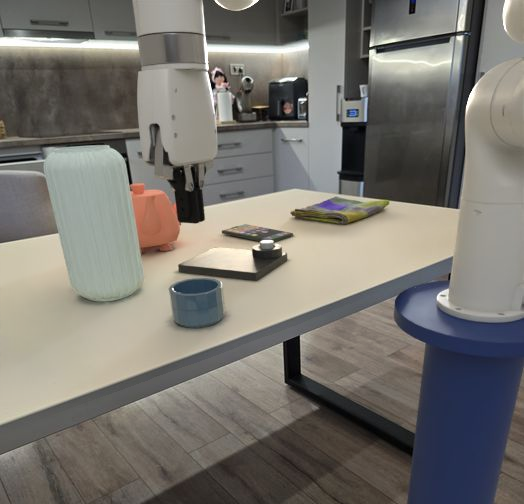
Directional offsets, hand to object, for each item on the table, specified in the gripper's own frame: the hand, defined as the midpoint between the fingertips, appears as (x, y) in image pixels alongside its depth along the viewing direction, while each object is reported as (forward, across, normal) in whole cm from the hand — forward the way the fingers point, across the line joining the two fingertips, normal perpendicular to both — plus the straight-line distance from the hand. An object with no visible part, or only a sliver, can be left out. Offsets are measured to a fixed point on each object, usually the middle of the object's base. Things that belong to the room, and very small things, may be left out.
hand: (191, 221), depth 62 cm
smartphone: (+13, -46, -16) cm, 50 cm away
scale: (+13, -23, -8) cm, 28 cm away
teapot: (+13, -28, -32) cm, 45 cm away
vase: (+13, -3, -20) cm, 24 cm away
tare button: (+11, -27, -3) cm, 29 cm away
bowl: (+13, +1, 0) cm, 13 cm away
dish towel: (+13, -74, -5) cm, 75 cm away
